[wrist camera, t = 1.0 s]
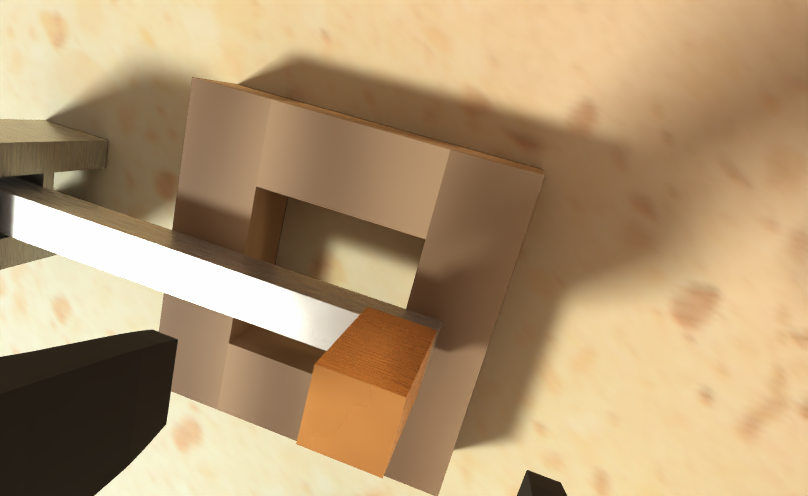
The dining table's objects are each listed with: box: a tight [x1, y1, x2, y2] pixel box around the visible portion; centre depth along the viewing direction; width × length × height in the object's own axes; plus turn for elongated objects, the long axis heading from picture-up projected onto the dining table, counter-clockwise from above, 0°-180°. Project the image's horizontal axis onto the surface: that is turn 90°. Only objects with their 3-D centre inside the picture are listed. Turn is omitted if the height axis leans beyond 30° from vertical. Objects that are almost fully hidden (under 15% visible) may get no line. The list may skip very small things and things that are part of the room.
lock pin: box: [0, 176, 442, 478], centre depth 14 cm, size 18×2×5 cm, turn 75°
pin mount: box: [0, 119, 108, 270], centre depth 18 cm, size 3×4×5 cm
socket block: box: [159, 77, 545, 496], centre depth 17 cm, size 11×11×2 cm
